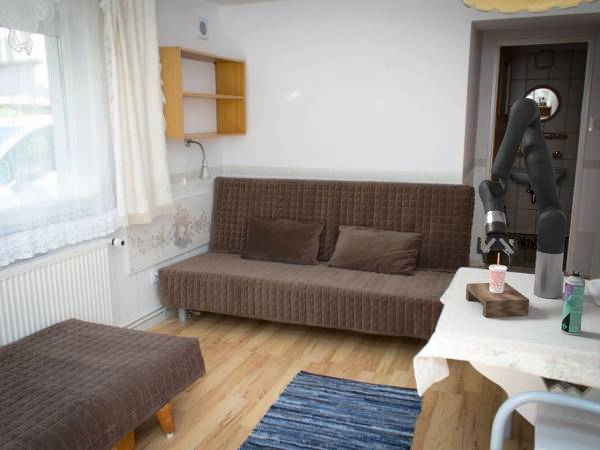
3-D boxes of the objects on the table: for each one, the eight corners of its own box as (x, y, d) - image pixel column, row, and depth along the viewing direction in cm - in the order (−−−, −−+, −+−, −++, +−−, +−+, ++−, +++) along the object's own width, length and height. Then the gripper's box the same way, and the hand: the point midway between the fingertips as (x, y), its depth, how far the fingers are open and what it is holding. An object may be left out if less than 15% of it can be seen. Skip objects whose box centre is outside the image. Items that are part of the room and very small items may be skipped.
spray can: (576, 328, 178) (581, 269, 174) (582, 335, 173) (589, 274, 169) (558, 328, 179) (563, 269, 175) (564, 335, 173) (570, 274, 169)
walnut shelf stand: (504, 297, 208) (505, 282, 207) (528, 316, 190) (529, 299, 188) (465, 298, 207) (466, 283, 206) (485, 317, 189) (486, 300, 188)
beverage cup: (508, 293, 194) (510, 255, 191) (490, 293, 194) (493, 255, 191) (501, 288, 200) (504, 250, 197) (485, 288, 200) (487, 251, 197)
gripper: (476, 219, 202) (478, 258, 194) (517, 220, 200) (521, 259, 191) (474, 230, 209) (476, 268, 200) (514, 231, 206) (517, 270, 197)
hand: (498, 264), depth 196 cm, fingers open, 8 cm apart
